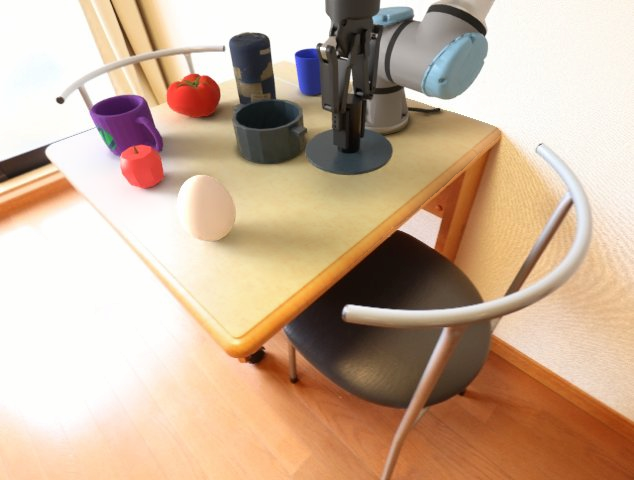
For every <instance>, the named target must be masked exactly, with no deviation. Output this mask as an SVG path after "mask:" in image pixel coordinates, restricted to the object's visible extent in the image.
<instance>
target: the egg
mask: <svg viewBox="0 0 634 480" xmlns="http://www.w3.org/2000/svg"><path fill="white" fill-rule="evenodd" d="M176 210H177V216H178V219H179V221H180V224H181V226H182V227H183V229H184V231H186V232H187V233H188V234H189V235H190V236H191V237H193V238H194V239H197V240H200V241H203V242H215V241H216V242H217V241H219V240H221V239H223V238H225V237H226V236H227V235H228V234H229V233H230V231H231V230H232V229H233V227H234V226H235V225H234V224H235V222H236V216H237V212H236V204H235V202H234V199H233V197H232V195H231V193H230V191H228V189H227V188H226V187H225V186H224V185H223V183H221V182H220V180H219V181H218V180H217V179H216V178H215V177H212V176H209V175H206V174H198V175H193V176H192V177H189V178H188V179H186V180H185V181H184V183H183V184H182V186H181V187H180V190H179V191H178V195H177V202H176Z"/></svg>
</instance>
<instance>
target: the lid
mask: <svg viewBox="0 0 634 480" xmlns="http://www.w3.org/2000/svg"><path fill="white" fill-rule="evenodd" d="M346 110H348V111H349V140H348V148H347V149H344V148H341V147H339V146H336V145H334V144H333V129H332V128H331V129H327V130H324V131H321V132H319V133H317V134H316V135H314V136H313V137H311V138H310V139H309V140H308V142H307V143H306V144H305V147H304V149H305V151H304V152H305V157H306V160H307V161H308V162H309V163H310V164H311V165H312V166H313V167H315V168H316V169H318V170H320V171H322V172H325V173H330V174H334V175H339V176H340V175H341V176H357V175H365V174H369V173H373V172H375V171H378V170H380V169H382V168H383V167H384V166H386V165H387V164H388V163H389V162H390V161H391V159H392V157H393V152H394V150H393V149H394V148H393V145H392V143H391V141H390V140H389V139H388V138H387V137H385V136H384V135H381V134H379V133H377V132H374V131H371V130H367V129H365V132H364V137H363V138H360V136H361V116H362V97H361V96H360V95H357V94H350V93H348V97H347V105H346Z"/></svg>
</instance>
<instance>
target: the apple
mask: <svg viewBox="0 0 634 480" xmlns="http://www.w3.org/2000/svg"><path fill="white" fill-rule="evenodd" d="M163 165H164V164H163V161H162V156H161V155H160V152H157V150H155V149H153V148H152V147H150V146H146V145H138V146H133V147H130V148H128V149H127V150H125V151H124V152H122V154H121V156H120V157H119V167H120V170H121V174H122V176H123V177H124V178H125V180H126V181H127V182H128V183H129V184H130V186H133V187H136V188H140V189H148V188H151V187H155V186H156V185H157V184H159V183H161V182H162V180H164V178H165V173H164V166H163Z"/></svg>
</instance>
